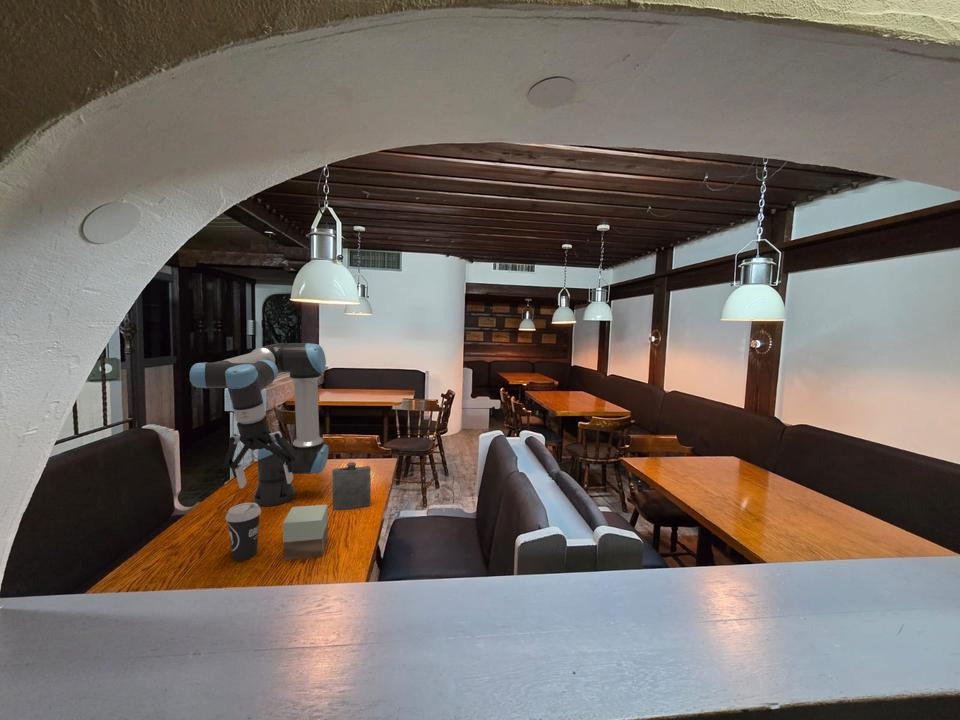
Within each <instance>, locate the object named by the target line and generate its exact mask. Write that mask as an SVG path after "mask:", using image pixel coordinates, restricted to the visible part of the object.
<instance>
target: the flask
mask: <svg viewBox="0 0 960 720" xmlns="http://www.w3.org/2000/svg"><path fill="white" fill-rule="evenodd" d="M356 465H357V463H356V462H348V463H347V464H346V466H347V467H346V466H345V467H340V468H339V467H338V468H337V467H336V468H333V469H332V472H331V473H332V510H333V509H334V510H333V511H344V510H356V509H357V510H358V509H363V508H369V507H371V506H372V505H371V502H372V498H371V497H372V495H371V494H372V493H371V491H372V490H371V485H372V484H371V470H372V469H371V466H369V465H364V466H356Z"/></svg>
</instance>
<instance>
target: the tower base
mask: <svg viewBox="0 0 960 720" xmlns="http://www.w3.org/2000/svg"><path fill="white" fill-rule="evenodd" d="M328 523H329V521H328V522H327V525H326V528H325V531H324V534H323V537H322V539H315V540H304V541H293V542H283V541H282V542H283V561H292V560H293V559H294V560H302V559H303V560H304V559H310V558H311V559H312V558H321V557H323V555H324V552H325V548H326V545H327V544H328V543H327V542H328V539H329V528H328V527H329V524H328Z"/></svg>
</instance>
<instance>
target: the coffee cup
mask: <svg viewBox="0 0 960 720" xmlns="http://www.w3.org/2000/svg"><path fill="white" fill-rule="evenodd" d="M261 513H262V509H261V506H259V505H258V504H256V503H254V502H242V503H240V504H239V503H238V504H236V505H234V506H232V507H230V508H229V509H228V511H227V513H226V515H225V518H224V519H225V521H226V522H227V527H228V533H229V541H230V542H229V543H230V550H231V554H232V555H231V556H232V560H234V561H236V562H237V561H239V562H240V561H242V562H243V561H246V560H249V559H251V558H253V557H255V556H256V555H257V552H258V541H259V540H258V539H259V526H260V515H261Z"/></svg>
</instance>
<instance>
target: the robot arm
mask: <svg viewBox="0 0 960 720" xmlns="http://www.w3.org/2000/svg"><path fill="white" fill-rule="evenodd" d="M326 360H327V359H326V355H325V352H324V349H323V347H322V346H321V345H319V344H316V343H310V342H303V343H301V342H300V343H297V342H296V343H292V342H291V343H290V342H289V343H288V342H287V343H285V342H279V343H274V344H268V345H265V346H261V347H258V348H255V349H253V350H252V351H251V352H249V353H245V354H242V355H238V356H234V357H231V358H226V359H224V360H220V361H214V362H207V361H206V362H197V363H194V364H193V365H192V366H191V368H190V371H189V382H190V384H191V385H192V386H193V387H195V388H200V389H201V388H202V389H227V390H228V393H229V397H230V402H231V405H232V410H233V414H234V417H235V421H236V422H237V423H236V426H237V430H238V434H239V435H237V434H236V433H234V434H233V435H232V436H230V437H229V438H228V449H227V452H226V454H225V455H226V456H225V459H224V461H223V468H225V469H226V468H230V469H231V471H232V474H233V477H234V478H235V479H237V483H238V488H239V489H244V487H246V485H247V483H248V482H247V479H246V474H245V471H244V467H243V464H242V463H240V462H241V461H242V459H244V456H245V455H246V454H247V452H248V451H249V450H251V451H255V450H257V458H256V459H257V474H258V475H257V477H258V479H257V480H258V482H257V486H256V489H255V491H254V495H253V503H256V504H258V506H259V507H274V506H278V505H282V504H285V503H287V502H290V501H292V500H293V499H295V496H296V490H295V486H294V485H293V482H292V481H293V480H294V476H293V475H313V474H320V473H322V472H324V469H325V468H326V466H327V465H326V464H327V462H328V458H329V449H330V448H329V446H328V444H324V439H323V438H322V437H321V436H320V421H319V417H320V416H319V396H318V395H319V390H318V385H319V384H318V380H319V379H320V378H321V377H322V373H324V372H325V371H326V369H327V368H326V367H327V361H326ZM279 373H289V379H291V381H293V384H294V386H293V387H294V406H295V407H294V410H295V429H296V430H295V432H296V438H295V440H294V441H293V442H292V444H290V441H289V440H287V439H286V438H285V437H284V433H283V431H282V430H280V429H279V430H277V431H276V432H271V430H270V426H269V421H268V417H267V416H266V415H267V411H266V407H265V403H264V400H263V399H264V398H263V393H262V391H264V389H266V388H267V387H268V386H270V385H271V384H273V382H274V381H275V380H276V379H277V377H278V376H279V375H278V374H279ZM272 439H273V440H272ZM239 442H241V444H243V447H242V448H241V450H240V452H239V453H238V454H237V456H236V458H235V459H234V456H235V453H236V451H237V446H238V444H239ZM233 459H234V460H233ZM291 499H292V500H291Z"/></svg>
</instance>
